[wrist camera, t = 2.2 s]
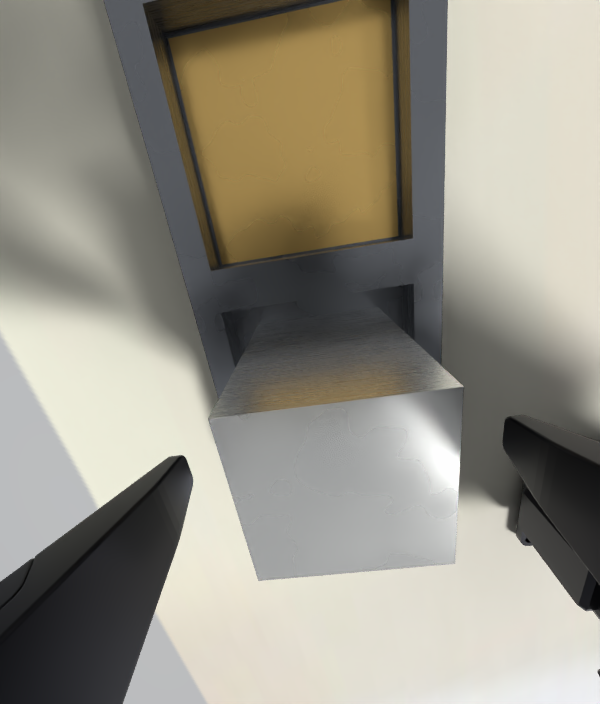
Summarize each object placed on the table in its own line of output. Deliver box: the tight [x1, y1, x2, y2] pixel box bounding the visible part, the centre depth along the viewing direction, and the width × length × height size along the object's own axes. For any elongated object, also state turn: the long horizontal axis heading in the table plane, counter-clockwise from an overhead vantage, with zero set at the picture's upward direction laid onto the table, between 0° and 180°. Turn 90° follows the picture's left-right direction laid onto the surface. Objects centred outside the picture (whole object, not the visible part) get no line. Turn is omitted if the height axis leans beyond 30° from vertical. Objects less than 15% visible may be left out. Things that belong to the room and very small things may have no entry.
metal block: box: [208, 307, 464, 581], centre depth 10 cm, size 5×5×7 cm
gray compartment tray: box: [104, 0, 448, 398], centre depth 10 cm, size 9×27×2 cm, turn 9°
